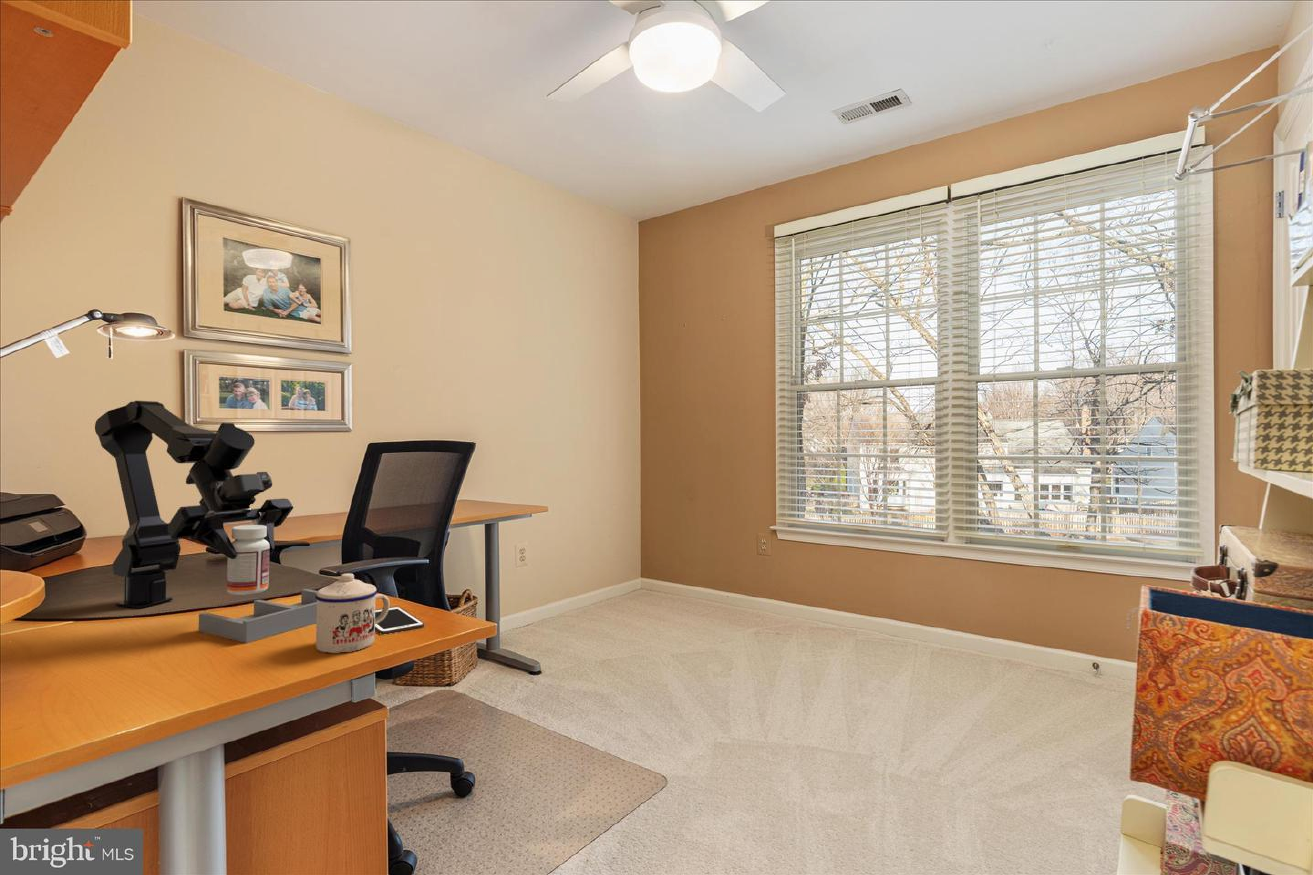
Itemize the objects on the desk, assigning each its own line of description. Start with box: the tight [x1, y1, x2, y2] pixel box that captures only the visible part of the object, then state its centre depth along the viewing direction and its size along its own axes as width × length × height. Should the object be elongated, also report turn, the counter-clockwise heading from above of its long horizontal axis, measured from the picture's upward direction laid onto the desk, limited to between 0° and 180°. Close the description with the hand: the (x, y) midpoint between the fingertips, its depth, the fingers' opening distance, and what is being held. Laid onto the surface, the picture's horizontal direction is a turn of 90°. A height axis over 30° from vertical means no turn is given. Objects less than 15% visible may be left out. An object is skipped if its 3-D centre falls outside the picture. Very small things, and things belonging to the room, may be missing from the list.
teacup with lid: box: [315, 573, 391, 654], centre depth 104 cm, size 12×9×12 cm
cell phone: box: [375, 605, 425, 635], centre depth 116 cm, size 8×15×1 cm, turn 41°
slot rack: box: [198, 588, 319, 644], centre depth 114 cm, size 13×20×4 cm, turn 156°
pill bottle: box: [226, 524, 271, 596], centre depth 109 cm, size 6×6×11 cm
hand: (253, 554), depth 108 cm, fingers closed on pill bottle, 6 cm apart
